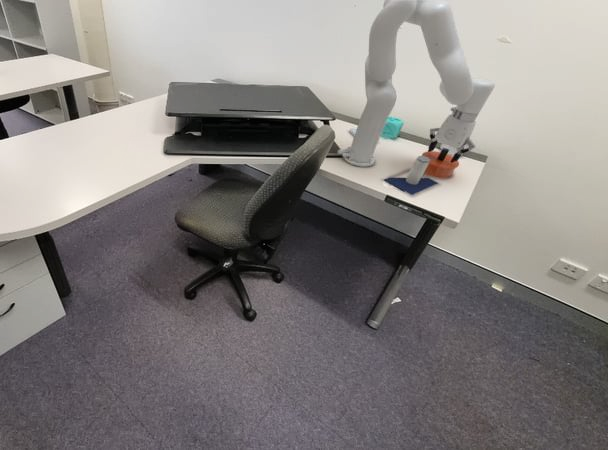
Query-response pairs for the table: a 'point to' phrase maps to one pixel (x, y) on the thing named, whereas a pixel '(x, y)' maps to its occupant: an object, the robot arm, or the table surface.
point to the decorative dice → (392, 127)
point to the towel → (408, 187)
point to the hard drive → (353, 131)
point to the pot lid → (441, 159)
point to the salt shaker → (417, 170)
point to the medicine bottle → (451, 149)
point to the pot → (438, 171)
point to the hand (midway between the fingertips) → (441, 156)
